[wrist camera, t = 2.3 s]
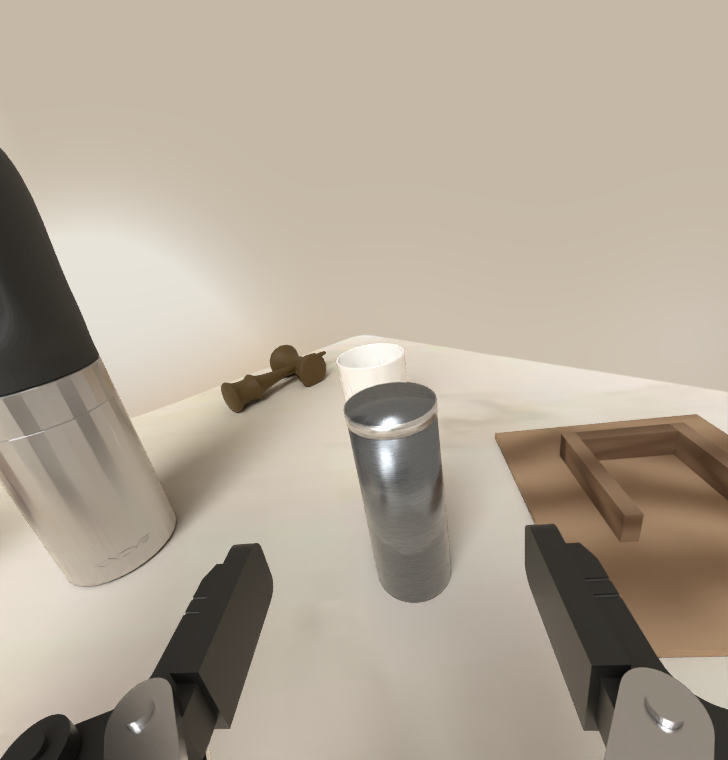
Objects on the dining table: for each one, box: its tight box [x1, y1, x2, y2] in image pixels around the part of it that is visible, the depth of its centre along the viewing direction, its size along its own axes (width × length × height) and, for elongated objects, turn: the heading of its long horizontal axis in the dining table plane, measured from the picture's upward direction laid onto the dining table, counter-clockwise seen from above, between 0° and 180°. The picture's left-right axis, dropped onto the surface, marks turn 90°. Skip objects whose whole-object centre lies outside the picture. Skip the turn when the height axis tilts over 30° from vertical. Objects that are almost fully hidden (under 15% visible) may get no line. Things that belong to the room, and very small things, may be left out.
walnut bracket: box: [495, 414, 728, 657], centre depth 28 cm, size 22×20×3 cm
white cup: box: [336, 343, 407, 402], centre depth 44 cm, size 8×8×10 cm
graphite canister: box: [344, 382, 451, 603], centre depth 25 cm, size 6×6×14 cm
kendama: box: [221, 345, 326, 413], centre depth 62 cm, size 6×10×20 cm
